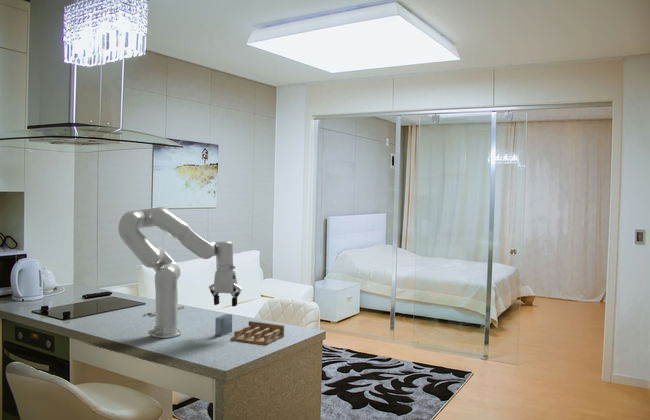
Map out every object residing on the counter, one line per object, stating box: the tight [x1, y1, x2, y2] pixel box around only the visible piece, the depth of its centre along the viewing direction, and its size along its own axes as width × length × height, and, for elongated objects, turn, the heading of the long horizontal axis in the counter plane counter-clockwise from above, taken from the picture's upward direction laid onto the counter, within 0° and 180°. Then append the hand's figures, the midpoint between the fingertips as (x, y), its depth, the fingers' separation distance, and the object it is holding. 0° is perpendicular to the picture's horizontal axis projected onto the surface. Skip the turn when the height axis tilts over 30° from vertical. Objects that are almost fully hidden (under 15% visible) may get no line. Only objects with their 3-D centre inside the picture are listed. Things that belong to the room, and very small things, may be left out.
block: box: [214, 313, 233, 337], centre depth 235 cm, size 9×3×8 cm, turn 157°
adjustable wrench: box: [144, 305, 185, 318], centre depth 277 cm, size 25×6×2 cm, turn 143°
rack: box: [230, 320, 285, 346], centre depth 228 cm, size 16×18×5 cm
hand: (225, 305), depth 235 cm, fingers open, 9 cm apart
